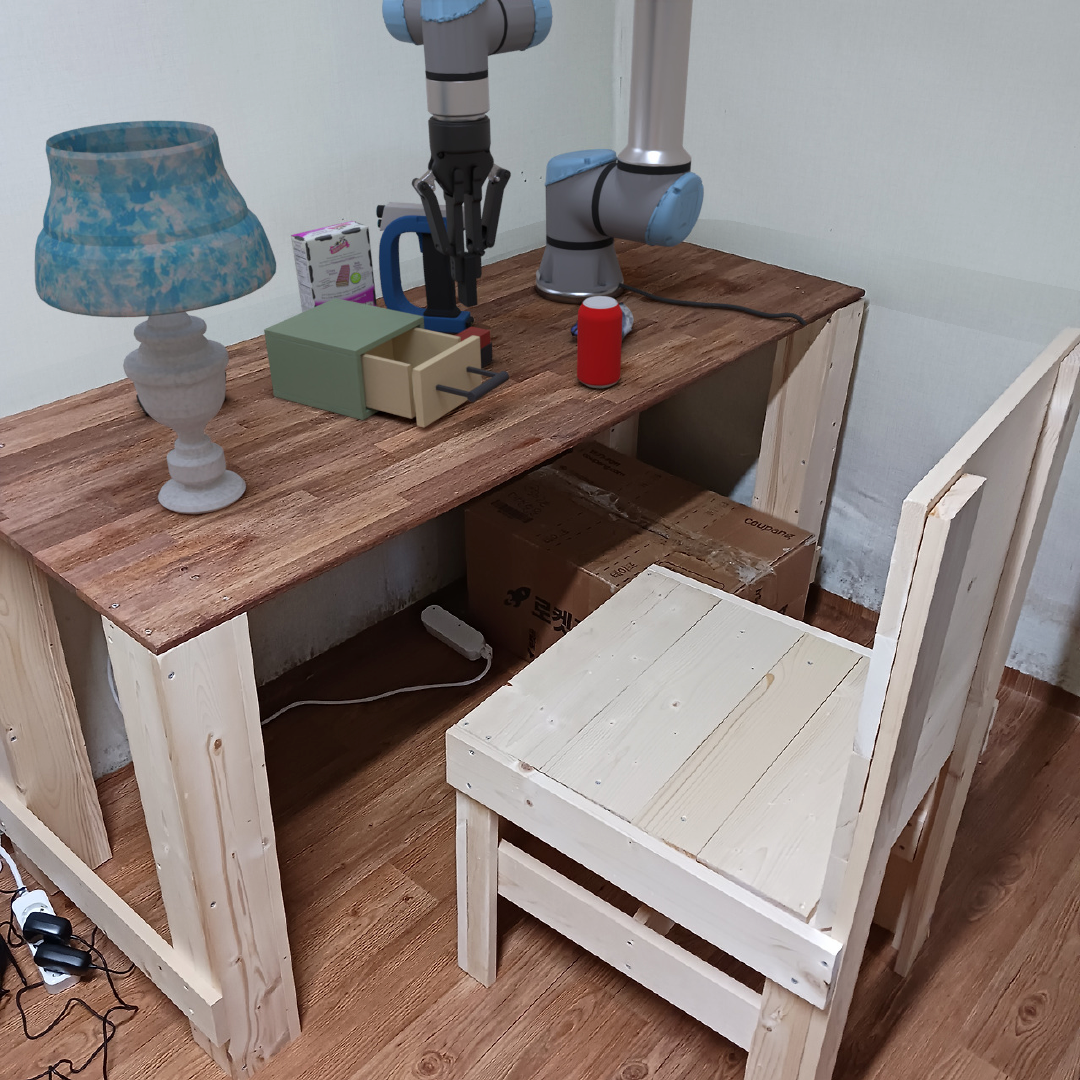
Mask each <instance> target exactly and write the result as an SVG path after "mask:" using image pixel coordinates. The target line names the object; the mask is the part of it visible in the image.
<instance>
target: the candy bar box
mask: <svg viewBox="0 0 1080 1080" xmlns="http://www.w3.org/2000/svg"><path fill="white" fill-rule="evenodd" d="M290 237H291V245H292V252H293V257H294V265H295V272H296V278H297V286H298V292H299V293H298V294H299V299H300V306H301V313H302V312H305V311H307V310H309V309H312V308H314V307H316V306H318V305H321V304H323V303H325V302H327V301H330V300H332V299H334V298H337V299H342V300H347V301H352V302H357V303H361V304H366V305H371V306H376V307H378V304H377V295H376V285H375V277H374V266H373V257H372V256H373V255H372V248H371V239H370V230H369V226H368V225H365V224H363V223H361V222H357V221H355V220H350V221H346V222H342V223H337V224H332V225H327V226H323V227H320V228H315V229H311V230H307V231H302V232H299V233H293V234H290Z"/></svg>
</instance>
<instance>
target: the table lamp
mask: <svg viewBox="0 0 1080 1080" xmlns="http://www.w3.org/2000/svg"><path fill="white" fill-rule="evenodd" d="M219 141H220V140H219V136H218V134H217V133H216V130H215V128H213V127H212V126H210V125H207V124H204V123H199V122H191V121H183V120H135V121H134V120H133V121H120V122H111V123H102V124H95V125H89V126H83V127H78V128H74V129H70V130H66V131H62V132H59V133H57V134H54V135H52V136H50V137H49V138H48V139H46V142H45V154H46V157H47V162H48V168H49V170H48V171H49V175H50V176H49V177H50V187H49V195H48V199H47V202H46V205H45V209H44V213H43V217H42V226H43V227H42V228H41V230H40V232H39V234H38V235H37V238H36V243H35V247H34V248H35V249H34V284H35V290H36V294H37V296H38V297H39V299H40V300H41V301H42V302H44V303H45V304H47V306H50V307H52V308H54V309H57V310H59V311H62V312H65V313H71V314H74V315H81V316H89V317H100V318H101V317H102V318H141V317H147V319H146V320H145V321H142V322H141V323H139V324H137V325H136V326H135V327H134V329H133V336H134V338H135V340H136V341H137V342H139V343H140V344H139V346H138V348H136V349H134V350H132V351H131V352H129V353H128V354H127V355H126V356H125V357H124V359H123V372H124V374H125V376H126V377H127V378H128V379H129V380H130V381H131V382H132V383H133V386H134V389H135V391H136V395H137V394H138V397H139V400H140V402H141V404H142V406H143V407H144V409H145V411H146V412H147V413H148V414H149V417H151V418H152V420H154V421H156V422H157V423H158V424H160V425H162V426H165V427H167V428H170V429H171V430H172V431H174V432H175V433H176V436H177V438H176V439H175V441H174V442H173V443H174V444H173V445H174V448H172V449H171V450H169V452H168V453H167V455H166V462H167V468H168V473H169V476H170V477H171V478H169V480H167V481H166V482H164V484H163V486H162V487H161V488H160V490H159V493H158V495H157V501H158V502H159V504H161V505H162V506H163V507H164V508H165V509H167V510H169V511H172V512H176V513H178V514H183V515H201V514H208V513H213V512H216V511H220V510H222V509H225V508H228V507H229V506H231V505H233V504H234V503H235V502H237V501H238V500H239V499H240V498H241V497H242V496H243V494H244V493H245V491H246V489H247V484H246V482H245V479H243V478H242V477H241V476H240V475H239V474H238V473H236V472H234V471H233V470H229V469H227V461H226V456H225V451H224V448H223V446H221V445H220V444H218V443H215V442H214V441H213V442H212V438H211V437H210V435H208V434H207V433H205V429H206V426H207V425H208V423H209V422H210V421H212V419H214V418H215V417H216V416H217V415H218V413H219V412H220V411H221V409H222V406H223V404H224V401H225V400H224V399H225V396H226V392H227V379H226V380H225V372H226V368H227V367H228V365H229V362H230V357H229V351H228V349H227V348H226V346H225V345H223V344H222V343H221V342H219V341H216V340H213V339H208V338H207V337H206V336H205V335H204V334H205V333H206V332H207V327H208V325H207V323H206V321H205V320H204V319H203V318H201V317H199V316H196V315H189V314H188V312H192V311H198V310H203V309H207V308H211V307H214V306H215V307H216V306H220V305H223V304H226V303H229V302H233V301H236V300H238V299H240V298H243V297H245V296H248V295H251V294H252V293H254V292H256V291H258V290H259V289H261V288H263V287H264V286H266V285H267V284H268V283H270V281H271V280H272V279H273V278H274V276H275V275H276V273H277V260H276V257H275V254H274V251H273V248H272V246H271V243H270V240H269V238H268V235H267V233H266V231H265V229H264V226H263V225H262V223H261V221H260V219H259V218H258V215H256V214H255V212H253V211H252V210H251V209H250V208H249V207H248V205H247V202H246V199H245V198H244V196H243V195H242V194H241V192H240V190H239V189H238V188H237V186H236V185H235V183H234V182H233V180H232V178H231V177H230V175H229V173H228V171H227V169H226V167H225V164H224V161H223V156H222V153H221V148H220V142H219Z"/></svg>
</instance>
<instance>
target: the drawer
mask: <svg viewBox="0 0 1080 1080" xmlns="http://www.w3.org/2000/svg"><path fill="white" fill-rule="evenodd" d="M360 356H361V365H362V375H363V385H364V395H365V405H366V407H369V408H372V409H376V410H380V411H379V412H385V413H389V414H393V415H395V416H399V417H403V418H407V419H410V420H411V419H414V418H415V419H416V420H415V421H416V426H417V427H421V428H426V427H428V426H429V425H431V424H433V423H434V422H435V421H438V420H439V419H440V418H441V417H444V416H445V415H446V414H448V413H450V412H451V411H453V410H455V409H456V408H457V407H458V406H461V405H462V404H464V403H465V402H467V401H468V402H470V403H475V402H477V401H478V400H479V399H481V398H482V397H484V396H486V395H487V394H489V393H490V392H492V391H494V390H495V389H497V388H498V387H499V386H501V385H503V384H504V383H506V382H507V381H509V380H510V374H509V372H507V371H506V370H501V371H499V372H496V371H491V370H487V369H484V368H481V353H480V337H479V336H474V335H472V336H470V337H469V338H467V339H465V340H463V341H462V342H461V337H459V336H455V335H453V334H450V333H444V332H435V331H431V330H426V329H421V328H416V327H414V328H412V329H410V330H408V331H406V332H404V333H402V334H400V335H398V336H396V337H394V338H393V339H391V340H389V341H387V342H385V343H383V344H381V345H379V346H377V347H375V348H373V349H371V350H369V351H367V352H365V353H363V354H361V355H360ZM482 376H484V377H489V379H486V380H485V381H483V379H482Z"/></svg>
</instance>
